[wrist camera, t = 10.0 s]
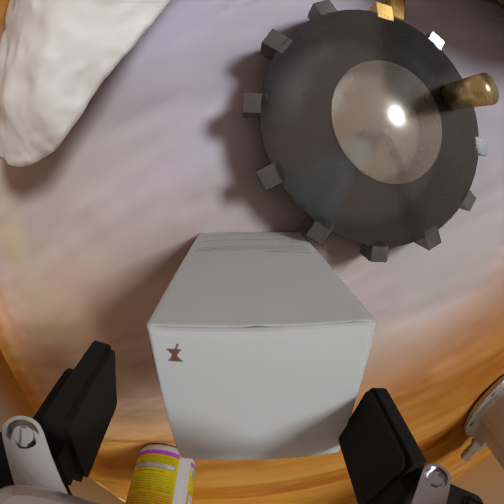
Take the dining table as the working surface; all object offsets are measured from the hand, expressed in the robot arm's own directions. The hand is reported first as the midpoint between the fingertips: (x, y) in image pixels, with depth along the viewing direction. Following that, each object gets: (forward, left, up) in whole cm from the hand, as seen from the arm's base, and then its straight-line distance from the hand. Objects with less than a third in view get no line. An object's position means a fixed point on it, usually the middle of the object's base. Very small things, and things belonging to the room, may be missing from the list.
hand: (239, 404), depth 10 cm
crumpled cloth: (+23, +16, -12) cm, 31 cm away
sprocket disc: (+13, -6, -12) cm, 19 cm away
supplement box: (0, -1, -13) cm, 13 cm away
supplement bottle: (-24, +3, -12) cm, 27 cm away
